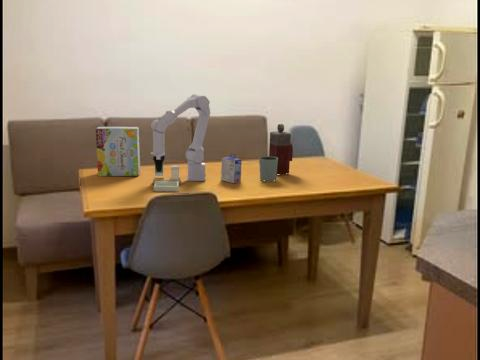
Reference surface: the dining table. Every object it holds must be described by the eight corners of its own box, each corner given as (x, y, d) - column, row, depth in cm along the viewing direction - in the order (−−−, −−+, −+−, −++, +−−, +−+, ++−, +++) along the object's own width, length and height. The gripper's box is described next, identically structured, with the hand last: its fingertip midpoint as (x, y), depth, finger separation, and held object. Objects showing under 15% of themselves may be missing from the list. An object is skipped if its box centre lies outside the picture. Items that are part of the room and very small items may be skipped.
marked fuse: (163, 174, 254) (163, 159, 252) (163, 175, 251) (162, 160, 249) (155, 174, 253) (155, 158, 251) (155, 175, 250) (154, 160, 249)
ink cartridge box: (241, 182, 261) (242, 154, 258) (234, 183, 257) (234, 156, 254) (227, 178, 267) (228, 152, 264) (220, 180, 263) (221, 153, 260)
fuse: (179, 180, 256) (179, 165, 254) (179, 182, 253) (179, 166, 251) (171, 180, 255) (171, 165, 253) (171, 182, 252) (171, 166, 250)
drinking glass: (275, 182, 262) (276, 160, 259) (256, 181, 264) (257, 159, 261) (278, 178, 271) (279, 156, 268) (259, 177, 273) (260, 155, 270)
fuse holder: (181, 181, 258) (181, 176, 257) (181, 185, 251) (181, 180, 250) (153, 181, 256) (153, 176, 256) (152, 185, 249) (152, 180, 249)
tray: (178, 185, 250) (178, 181, 249) (178, 191, 240) (178, 186, 239) (155, 185, 248) (155, 181, 248) (154, 191, 238) (153, 186, 238)
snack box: (140, 173, 275) (139, 126, 268) (138, 176, 266) (137, 128, 260) (100, 172, 273) (98, 125, 267) (97, 176, 264) (95, 128, 258)
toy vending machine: (292, 174, 282) (295, 124, 275) (274, 175, 278) (277, 125, 271) (285, 170, 290) (288, 122, 283) (268, 172, 286) (270, 123, 279)
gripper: (151, 141, 255) (151, 167, 258) (149, 146, 241) (150, 174, 244) (165, 141, 256) (165, 167, 259) (164, 146, 242) (164, 174, 245)
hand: (159, 170), depth 252 cm, fingers closed on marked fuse, 3 cm apart
